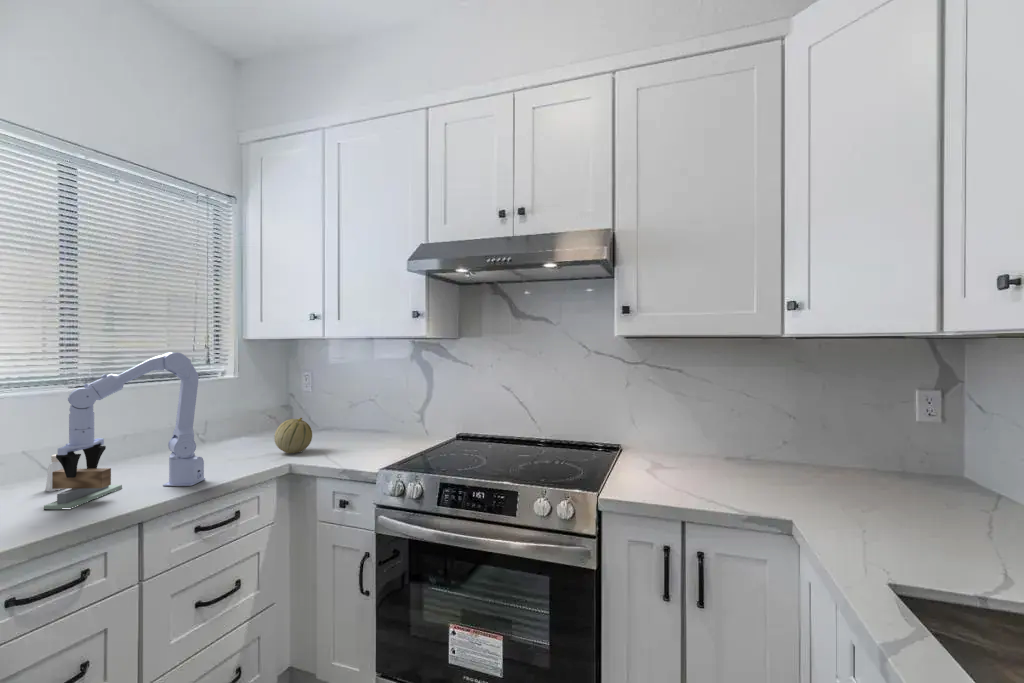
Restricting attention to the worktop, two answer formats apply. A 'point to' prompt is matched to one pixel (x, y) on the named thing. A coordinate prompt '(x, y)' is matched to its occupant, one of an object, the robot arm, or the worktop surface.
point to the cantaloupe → (293, 436)
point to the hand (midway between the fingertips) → (81, 473)
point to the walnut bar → (82, 479)
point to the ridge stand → (79, 496)
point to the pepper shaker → (52, 467)
